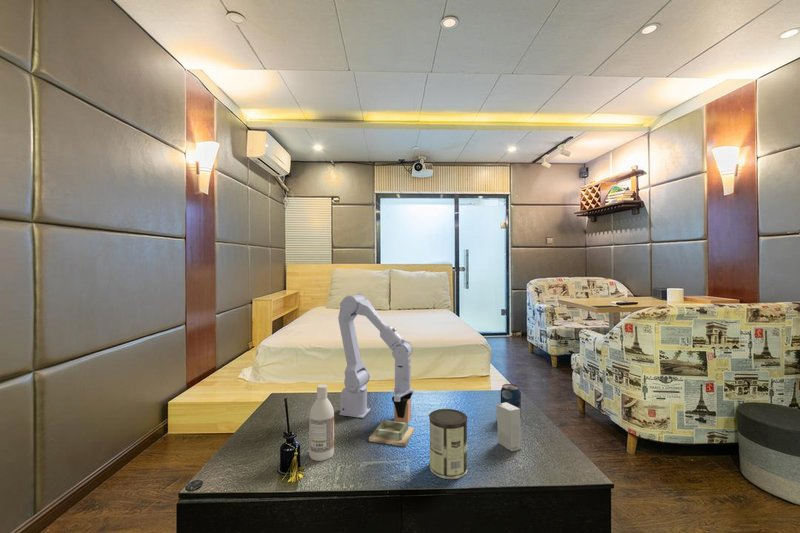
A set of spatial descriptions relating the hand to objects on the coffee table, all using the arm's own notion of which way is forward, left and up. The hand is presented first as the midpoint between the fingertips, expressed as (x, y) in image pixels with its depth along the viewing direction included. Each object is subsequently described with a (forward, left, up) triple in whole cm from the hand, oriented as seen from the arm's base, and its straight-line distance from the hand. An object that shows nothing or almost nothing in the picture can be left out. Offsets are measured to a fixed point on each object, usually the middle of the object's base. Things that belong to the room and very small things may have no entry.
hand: (402, 414), depth 123 cm
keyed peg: (0, 0, -2) cm, 2 cm away
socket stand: (0, -12, -2) cm, 12 cm away
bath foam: (-16, -29, -2) cm, 33 cm away
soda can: (+37, +11, -2) cm, 39 cm away
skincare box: (+36, -8, -2) cm, 37 cm away
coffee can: (+20, -25, -2) cm, 32 cm away
